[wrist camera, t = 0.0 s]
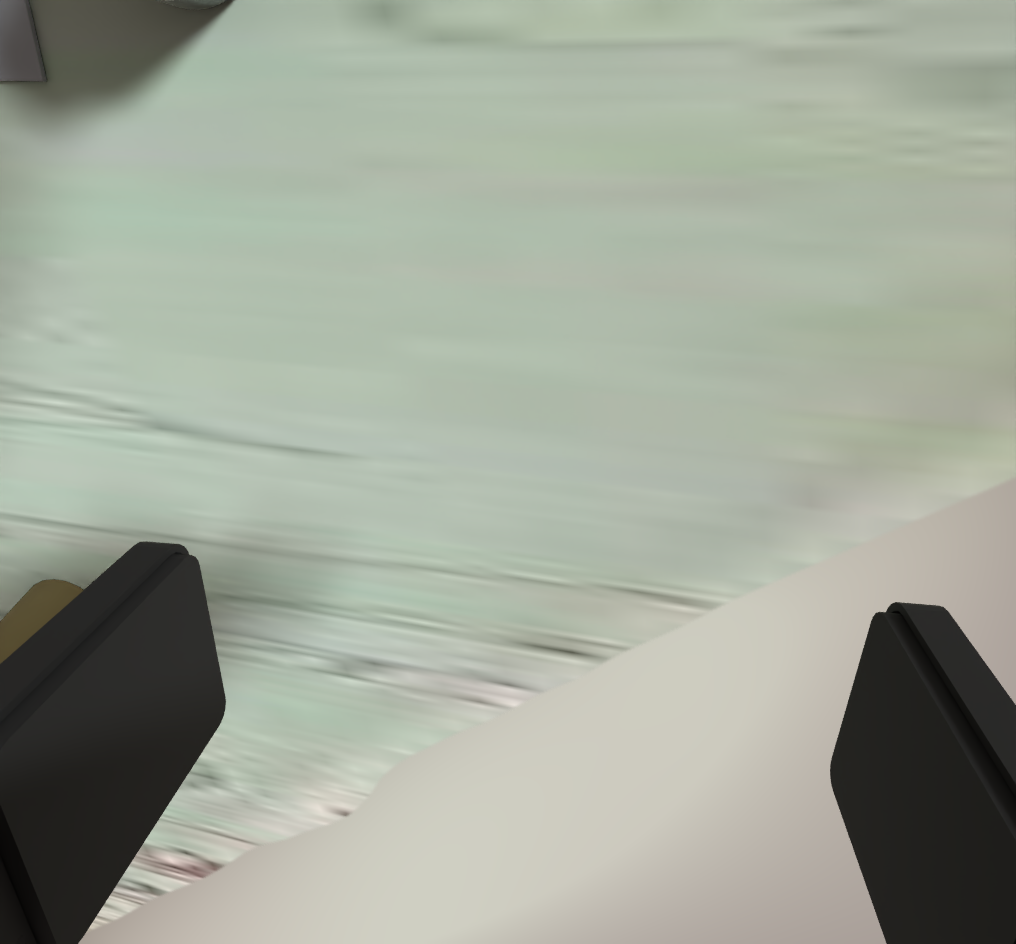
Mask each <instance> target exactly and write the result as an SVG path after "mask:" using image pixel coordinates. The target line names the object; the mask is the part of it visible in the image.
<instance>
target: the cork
mask: <svg viewBox="0 0 1016 944" xmlns="http://www.w3.org/2000/svg"><path fill="white" fill-rule="evenodd" d="M82 591H83V589H81V588H80V587H78V586H76V585H74V584H71V583H69V582H67V581H61V580H56V579H52V580H43V581H41V582H39V583H37V584H35V585H34V586H33V587H32V588H31V589H30V590H29V591H28V592H27V593H26V594H25V595H24V596H23V597H22V599H21V600H20V601H19V602H18V603H17V604H16V605H15V606H14V607H13V608H12V609H11V610H10V611H9V613H8V614H7V615H6V616H5V617H4V618H3V619H2V620H1V621H0V664H1V663H2V662H3V661H4V660H5V659H6V658H8V657H9V656H10V655H11V654H12V653H13V652H14V651H16V650H17V649H18V648H19V647H20V646H21V645H22V644H23V643H25V642H26V641H27V640H28V639H29V638H30V637H31V636H32V635H34V634H35V633H36V632H37V631H38V630H39V629H40V628H41V627H43V626H44V625H45V624H46V623H47V622H48V621H49V620H51V619H52V618H53V617H54V616H55V615H56V614H57V613H58V612H60V611H61V610H62V609H63V608H64V607H65V606H66V605H67V604H69V603H70V602H71V601H72V600H73V599H74V598H75V597H77V596H78V595H79V594H80V593H81V592H82Z"/></svg>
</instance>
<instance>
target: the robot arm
mask: <svg viewBox="0 0 1016 944" xmlns="http://www.w3.org/2000/svg"><path fill="white" fill-rule="evenodd" d="M225 705H226V699H225V693H224V688H223V682H222V677H221V672H220V667H219V662H218V657H217V652H216V647H215V641H214V636H213V631H212V626H211V621H210V616H209V611H208V606H207V601H206V595H205V590H204V585H203V580H202V575H201V570H200V565H199V562H198V560H197V558H196V557H194V556H192V555H189V553H188V551H187V549H186V548H185V547H184V546H182V545H180V544H169V543H157V542H139V543H137V544H136V545H134V546H133V547H132V548H131V549H130V550H129V551H127V552H126V553H125V554H124V555H123V556H122V557H121V558H119V559H118V560H117V561H116V562H115V563H114V564H113V565H112V566H110V567H109V568H108V569H107V570H106V571H105V572H104V573H103V574H101V575H100V576H99V577H98V578H97V579H96V580H95V581H93V582H92V583H91V584H90V585H89V586H88V587H87V588H86V589H84V590H83V591H82V592H81V593H80V594H79V595H78V596H77V597H75V598H74V599H73V600H72V601H71V602H70V603H69V604H67V605H66V606H65V607H64V608H63V609H62V610H61V611H60V612H58V613H57V614H56V615H55V616H54V617H53V618H52V619H51V620H49V621H48V622H47V623H46V624H45V625H44V626H43V627H41V628H40V629H39V630H38V631H37V632H36V633H35V634H34V635H32V636H31V637H30V638H29V639H28V640H27V641H26V642H25V643H23V644H22V645H21V646H20V647H19V648H18V649H17V650H16V651H14V652H13V653H12V654H11V655H10V656H9V657H8V658H6V659H5V660H4V661H3V662H2V663H1V664H0V944H78V943H79V941H80V940H81V939H82V938H83V936H84V935H85V933H86V931H87V930H88V928H89V927H90V925H91V924H92V922H93V921H94V919H95V917H96V916H97V914H98V913H99V911H100V910H101V908H102V907H103V905H104V904H105V902H106V900H107V899H108V897H109V896H110V894H111V893H112V891H113V890H114V888H115V886H116V885H117V883H118V882H119V880H120V879H121V877H122V876H123V874H124V873H125V871H126V869H127V868H128V866H129V865H130V863H131V862H132V860H133V859H134V857H135V855H136V854H137V852H138V851H139V849H140V848H141V846H142V845H143V843H144V841H145V840H146V838H147V837H148V835H149V834H150V832H151V831H152V829H153V828H154V826H155V824H156V823H157V821H158V820H159V818H160V817H161V815H162V814H163V812H164V810H165V809H166V807H167V806H168V804H169V803H170V801H171V800H172V798H173V796H174V795H175V793H176V792H177V790H178V789H179V787H180V786H181V784H182V783H183V781H184V779H185V778H186V776H187V775H188V773H189V772H190V770H191V769H192V767H193V765H194V764H195V762H196V761H197V759H198V758H199V756H200V755H201V753H202V751H203V750H204V748H205V747H206V745H207V744H208V742H209V741H210V739H211V738H212V736H213V734H214V733H215V731H216V730H217V728H218V727H219V725H220V723H221V721H222V718H223V716H224V712H225ZM830 767H831V768H830V776H831V784H832V788H833V792H834V795H835V798H836V800H837V803H838V806H839V809H840V812H841V815H842V818H843V820H844V823H845V826H846V829H847V832H848V835H849V838H850V840H851V843H852V846H853V849H854V852H855V855H856V858H857V860H858V863H859V866H860V869H861V872H862V874H863V877H864V880H865V883H866V886H867V889H868V891H869V895H870V897H871V900H872V903H873V906H874V909H875V912H876V914H877V917H878V920H879V923H880V926H881V929H882V931H883V934H884V937H885V940H886V943H887V944H1016V705H1015V704H1014V702H1013V701H1012V699H1011V698H1010V697H1009V695H1008V694H1007V692H1006V691H1005V690H1004V688H1003V687H1002V686H1001V684H1000V683H999V681H998V680H997V679H996V678H995V676H994V674H993V673H992V672H991V670H990V669H989V668H988V666H987V665H986V663H985V662H984V661H983V659H982V658H981V656H980V655H979V654H978V652H977V651H976V649H975V648H974V647H973V645H972V644H971V643H970V641H969V640H968V639H967V637H966V636H965V634H964V633H963V631H962V630H961V629H960V627H959V626H958V624H957V623H956V622H955V620H954V619H953V618H952V616H951V615H950V613H949V612H948V611H947V610H946V609H945V608H944V607H941V606H936V605H924V604H911V603H899V602H895V603H893V604H891V605H890V606H889V607H888V609H887V611H886V612H878V613H876V614H875V615H874V616H873V619H872V621H871V624H870V628H869V631H868V634H867V638H866V641H865V645H864V648H863V652H862V655H861V659H860V662H859V666H858V669H857V673H856V676H855V680H854V683H853V686H852V690H851V693H850V697H849V700H848V704H847V708H846V711H845V714H844V718H843V721H842V725H841V728H840V732H839V735H838V738H837V742H836V745H835V749H834V752H833V756H832V760H831V766H830Z"/></svg>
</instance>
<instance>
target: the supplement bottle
mask: <svg viewBox="0 0 1016 944" xmlns="http://www.w3.org/2000/svg"><path fill="white" fill-rule="evenodd" d="M156 1H159V2H162V3H165V4H168V5H172V6H175V7H179V8H184V9H191V10H202V9H208V8H212V7H215V6H217V5H219V4H221V3H223V2H225V1H226V0H156Z"/></svg>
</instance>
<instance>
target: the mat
mask: <svg viewBox="0 0 1016 944" xmlns="http://www.w3.org/2000/svg"><path fill="white" fill-rule="evenodd" d="M0 81H47V79H46V75H45V70H44V66H43V62H42V57H41V53H40V48H39V44H38V39H37V35H36V31H35V26H34V22H33V17H32V13H31V8H30V4H29V0H0Z"/></svg>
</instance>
